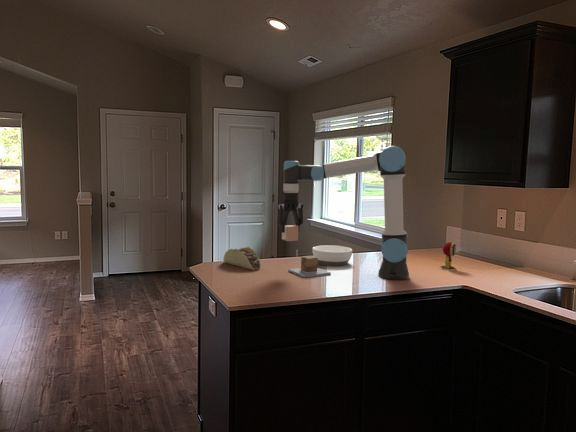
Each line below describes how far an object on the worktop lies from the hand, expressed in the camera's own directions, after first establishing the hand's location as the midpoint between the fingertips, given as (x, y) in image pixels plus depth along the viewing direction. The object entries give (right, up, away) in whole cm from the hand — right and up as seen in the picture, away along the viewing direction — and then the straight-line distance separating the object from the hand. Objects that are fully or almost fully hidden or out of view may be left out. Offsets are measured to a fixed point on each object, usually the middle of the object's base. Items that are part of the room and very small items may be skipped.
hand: (290, 238), depth 248 cm
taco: (-26, -16, +16) cm, 35 cm away
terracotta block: (0, -1, 0) cm, 1 cm away
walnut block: (+10, -17, +5) cm, 20 cm away
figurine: (+87, -18, +27) cm, 93 cm away
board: (+10, -18, +5) cm, 21 cm away
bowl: (+24, -16, +33) cm, 43 cm away
